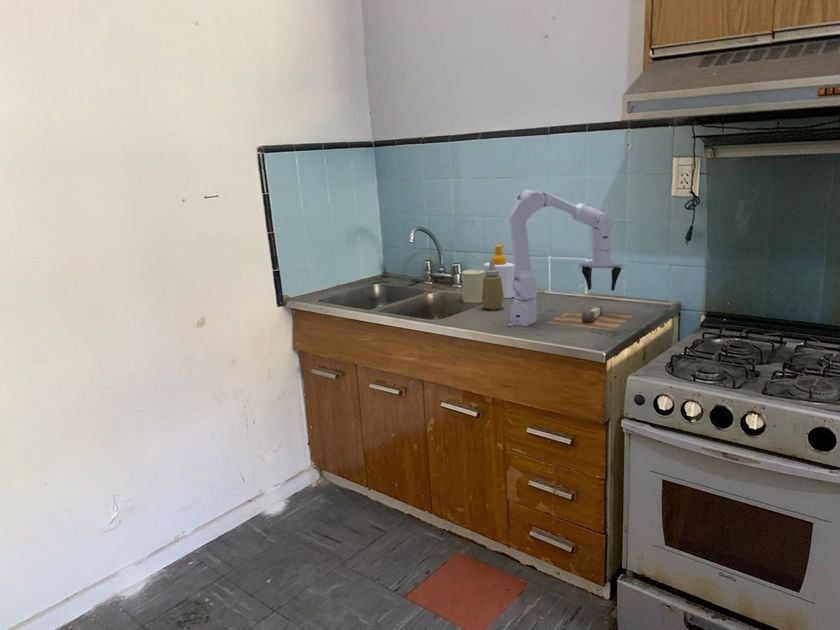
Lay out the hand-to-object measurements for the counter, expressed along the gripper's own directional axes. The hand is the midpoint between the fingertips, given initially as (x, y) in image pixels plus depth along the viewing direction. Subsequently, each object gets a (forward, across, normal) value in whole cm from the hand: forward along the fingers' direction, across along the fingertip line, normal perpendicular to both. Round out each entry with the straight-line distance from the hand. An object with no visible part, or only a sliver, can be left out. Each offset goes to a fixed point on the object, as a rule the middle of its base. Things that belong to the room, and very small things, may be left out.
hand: (601, 289), depth 211 cm
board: (+10, +2, +8) cm, 12 cm away
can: (+10, +52, -14) cm, 55 cm away
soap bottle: (+10, +44, -23) cm, 51 cm away
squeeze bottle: (+10, +40, -3) cm, 41 cm away
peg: (+8, +1, +6) cm, 10 cm away
